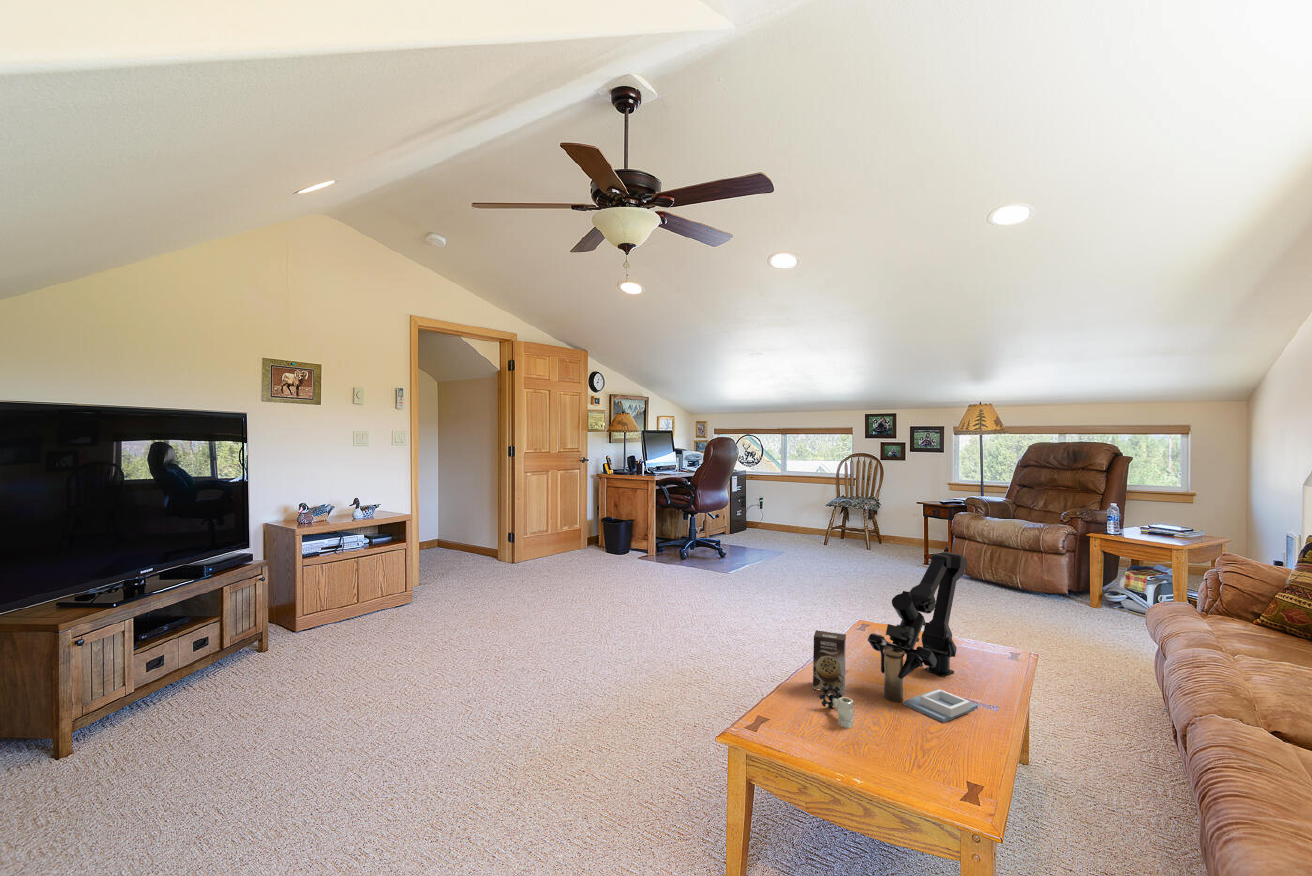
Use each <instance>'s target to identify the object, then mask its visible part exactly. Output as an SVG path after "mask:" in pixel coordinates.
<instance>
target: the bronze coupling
mask: <svg viewBox="0 0 1312 876" xmlns="http://www.w3.org/2000/svg"><path fill="white" fill-rule="evenodd" d="M883 653H884V673H883V698H884V699H885V700H887V701H888V702H892V703H901V702H903V701H904V699H903V698H904V697H903V696H904V694H903V693H904V687H903V686H904V678H903V679H900V678H899V675H900V672H901V670H902V668H903V665H904V657H905V655H906V654H905V651H904V650H903V649H901V648H898V647H893V646H886V647H883Z"/></svg>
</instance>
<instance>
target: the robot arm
mask: <svg viewBox="0 0 1312 876" xmlns="http://www.w3.org/2000/svg"><path fill="white" fill-rule="evenodd" d="M967 567H968V560H967V558H965V556H964V555H963V554H962V553H961V554H959V553H953V552H947V551H946V552H945V551H942V552H941V553H939V554H938V553H935V554H932V555H931V560H930V563H929V565H928V567H927V569H926V571H925V573H924V574H923V576H922V579H921V580H920V582H919V583H918V584H917V585H915V586H913V587H912V588H911V589H910V591H906V590H902V593H900V594H899V593H898V594H896V595H895V596H894V597H893V598H892V599H891V605H892V607H893V609H894V610H895V612H896V614H897V616H898V618H900V619H901V620H900V623H899V624H896V625H893V624H890V623H887V625H886V631H885V636H889V640H890V641H891V642H890V641H887V640H886V638H885V636H883V635H881V634H877V633H875V632H873V633H870V634H869V636H868V637H867V642H869V644H870V646H871V647H872V649H873V650H875V651H876V652H880V659H881V660H880V672H881V674H884V653H883V647H886V646H893V647H898V648H901V649H903V650H904V651H905V655H906V657H905V658H906V659H905V661H904V662H903V668H902V670H901V672H900V675H899V678H900V679H903V680H904V678H905V677H907V676H908V675H909V674H911V672H913V671H914V670H916V669H917V668H919V667H921V668H922V667H924V666H926V667H925V668H924V670H925V671H927V672H929V673H932V674H935V675H938V676H941V677H946V676H949V675H952V674H955V670H952V669H951V668H950V667H951V661H950V660H951V658H956V656H957V646H956V644H955V642H954V641H953V633H952V630H951V628H950V618H951V613H952V607H953V602H954V597H955V591H956V586H957V582H958V581H959V580H960V579H961V578H962V577H963V576H964V574H965V570H966V568H967ZM936 593H937V594H936ZM935 595H936V597H935ZM932 612H933V615H932V619H931V620H930V621H929V622H927V621H926V618H925V616H924V615H923V614H928V615H929V614H932ZM922 613H923V614H922ZM923 626H924V627H923ZM922 629H923V632H921V631H922ZM921 633H922V634H921ZM920 634H921V645H922V646H920V645H918V646H917V647H916V644H917V643H919V642H920V638H919V636H920ZM915 647H916V649H915Z"/></svg>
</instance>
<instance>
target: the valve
mask: <svg viewBox="0 0 1312 876" xmlns="http://www.w3.org/2000/svg"><path fill="white" fill-rule="evenodd" d="M832 687H833V686H832V685H831V684H829V685H828V689H825V688H824V687H822V689H821V690H822V691H821V692H823V693H822V694H819V695H818V698H819V700H822V701H821V706H823V707H825V708H826V706H827V707H828V708H829V710H833V709H834V710H835V711H836V712H837V716H838V718H837V723H838V725H839V726H840V727H841V728H843V729H844V728H845V729H851V728H853V727H854V718H855V710H854V700H853V699H851V698H850V697H846V696H844V695H843V694H840V693H839V694H838V691H840V689H839V688H838V687H835V689H833V688H832ZM829 691H834V692H835V693H831V692H829ZM826 697H827V699H828V700H829V701H827V700H826ZM833 706H834V707H833Z"/></svg>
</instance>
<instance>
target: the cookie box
mask: <svg viewBox="0 0 1312 876" xmlns="http://www.w3.org/2000/svg"><path fill="white" fill-rule="evenodd" d="M846 641H847V634H845V633H838V632H832V631H824V630H818V629H816V630H815V632H814V635H813V653H812V654H813V655H812V657H813V663H812V670H813V672H812V689H813V688H815V689H820V690H821V689H822V687H824V688H825V689H828V685H829V684H831V685H832V686H833V687H832V688H833V689H835V687H838V688H839V689H840V691H838V694H839V693H840V694H841V695H842V696H844V695H845V690H846V653H847V651H846V647H847V646H846V645H847V642H846ZM831 692H833V693H832V694H835V692H834V691H829V692H828V693H831Z"/></svg>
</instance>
